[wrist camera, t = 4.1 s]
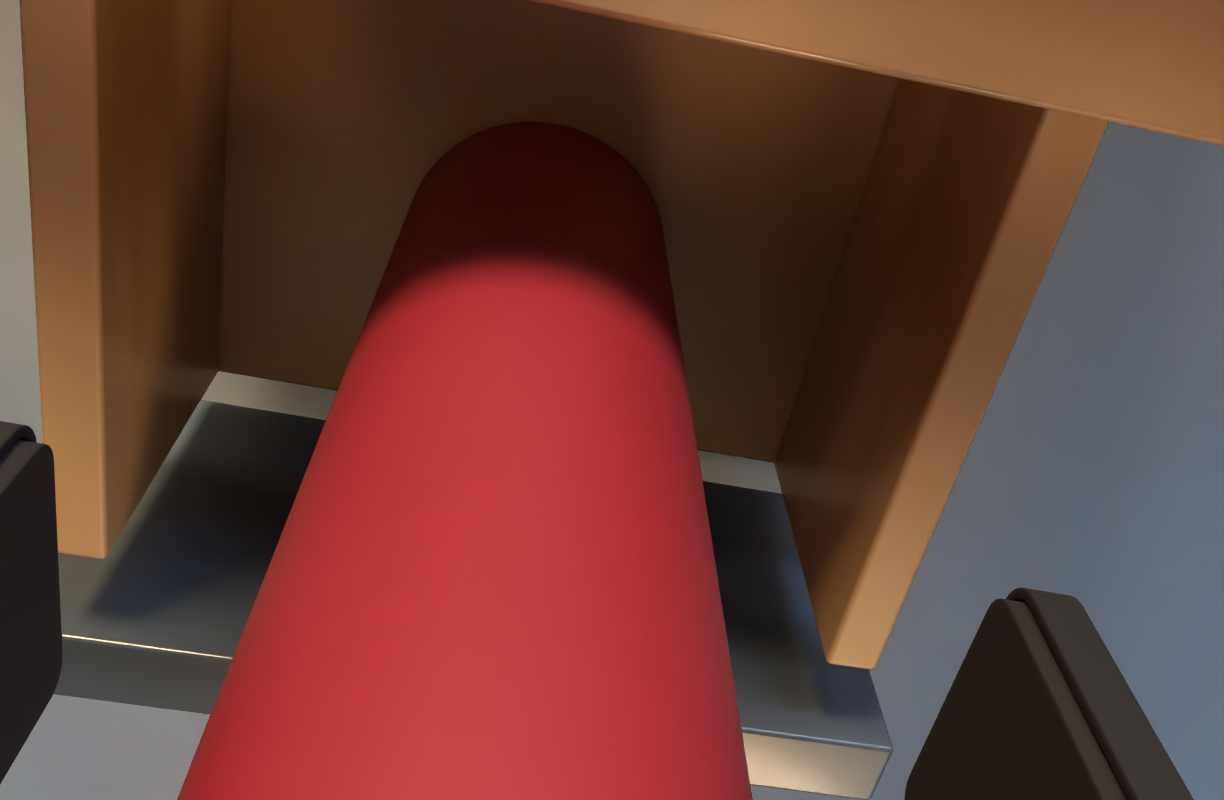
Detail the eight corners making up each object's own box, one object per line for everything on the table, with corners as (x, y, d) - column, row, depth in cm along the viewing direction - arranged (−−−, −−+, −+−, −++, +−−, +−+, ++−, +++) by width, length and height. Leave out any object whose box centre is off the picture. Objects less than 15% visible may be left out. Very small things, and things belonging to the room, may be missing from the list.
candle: (464, 390, 21) (261, 1436, 8) (362, 170, 19) (-143, 1108, 6) (694, 319, 20) (885, 1334, 7) (617, 83, 18) (691, 920, 5)
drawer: (744, 703, 26) (790, 979, 20) (152, 621, 25) (16, 894, 19) (1048, -147, 17) (1286, -96, 11) (157, -359, 16) (-99, -425, 10)
